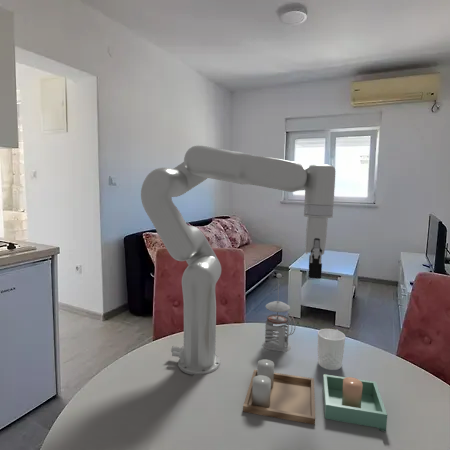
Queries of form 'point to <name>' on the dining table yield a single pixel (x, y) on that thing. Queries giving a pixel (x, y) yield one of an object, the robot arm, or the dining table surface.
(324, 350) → the white cup
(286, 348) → the french press
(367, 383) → the bin
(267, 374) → the pebble
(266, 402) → the pebble
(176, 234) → the robot arm
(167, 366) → the dining table surface
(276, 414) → the tray
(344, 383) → the brown smooth lump
